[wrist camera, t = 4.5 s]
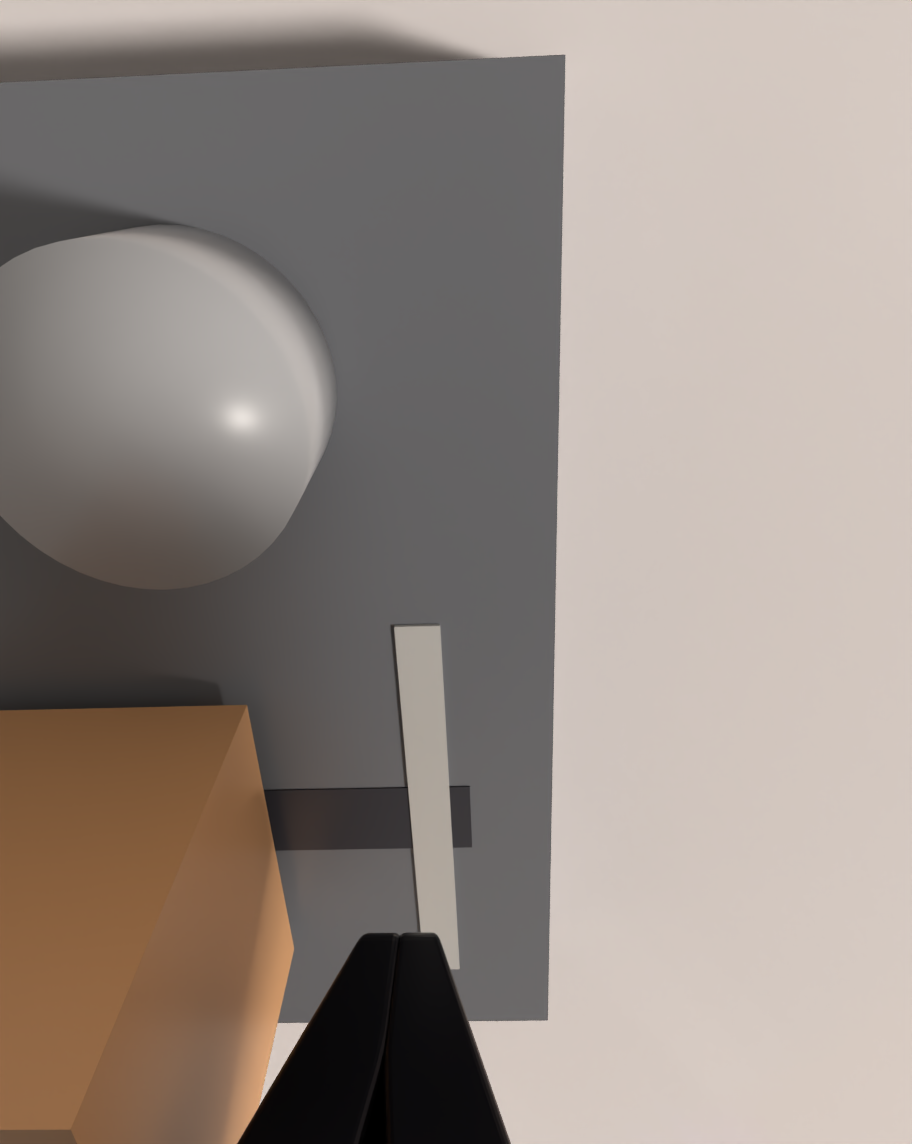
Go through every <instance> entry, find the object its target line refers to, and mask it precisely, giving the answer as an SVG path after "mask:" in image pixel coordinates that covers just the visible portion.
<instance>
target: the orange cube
mask: <svg viewBox="0 0 912 1144" xmlns="http://www.w3.org/2000/svg"><path fill="white" fill-rule="evenodd" d="M293 952H294V945H293V940H292V934H291V929H290V924H289V919H288V914H287V909H286V904H285V898H284V893H283V888H282V883H281V878H280V873H279V867H278V862H277V857H276V852H275V847H274V842H273V836H272V831H271V826H270V821H269V816H268V811H267V805H266V800H265V795H264V790H263V785H262V780H261V775H260V769H259V764H258V759H257V754H256V749H255V744H254V738H253V733H252V728H251V723H250V718H249V713H248V707H247V705H219V706H175V707H131V708H87V709H44V710H0V1144H237V1143H238V1141H239V1139H240V1138H241V1136H242V1134H243V1133H244V1131H245V1129H246V1128H247V1126H248V1124H249V1123H250V1121H251V1119H252V1118H253V1116H254V1114H255V1112H256V1111H257V1109H258V1107H259V1103H260V1098H261V1094H262V1090H263V1085H264V1081H265V1076H266V1072H267V1067H268V1063H269V1059H270V1054H271V1050H272V1045H273V1041H274V1036H275V1032H276V1027H277V1023H278V1019H279V1014H280V1010H281V1005H282V1001H283V996H284V992H285V988H286V983H287V979H288V974H289V970H290V965H291V961H292V957H293Z"/></svg>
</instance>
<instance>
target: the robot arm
mask: <svg viewBox="0 0 912 1144" xmlns="http://www.w3.org/2000/svg"><path fill="white" fill-rule="evenodd" d="M237 1144H511V1143H510V1140H509V1137H508V1134H507V1131H506V1128H505V1126H504V1123H503V1120H502V1117H501V1114H500V1111H499V1108H498V1105H497V1102H496V1100H495V1097H494V1094H493V1091H492V1088H491V1085H490V1082H489V1079H488V1076H487V1074H486V1071H485V1068H484V1065H483V1062H482V1059H481V1056H480V1053H479V1050H478V1048H477V1045H476V1042H475V1039H474V1036H473V1033H472V1030H471V1027H470V1024H469V1022H468V1019H467V1016H466V1013H465V1010H464V1007H463V1004H462V1001H461V998H460V996H459V993H458V990H457V987H456V984H455V981H454V978H453V975H452V972H451V970H450V967H449V964H448V961H447V958H446V955H445V952H444V949H443V946H442V944H441V941H440V938H439V937H438V935H437V934H435V933H433V932H407V933H403V934H401V935H399V934H398V933H366V934H364V935H362V936H361V937H360V939H359V940H358V941H357V943H356V944H355V946H354V948H353V949H352V951H351V953H350V954H349V956H348V958H347V960H346V961H345V963H344V965H343V966H342V968H341V970H340V971H339V973H338V975H337V976H336V978H335V980H334V981H333V983H332V985H331V986H330V988H329V990H328V991H327V993H326V995H325V997H324V998H323V1000H322V1002H321V1003H320V1005H319V1007H318V1008H317V1010H316V1012H315V1013H314V1015H313V1017H312V1018H311V1020H310V1022H309V1023H308V1025H307V1027H306V1028H305V1030H304V1032H303V1033H302V1035H301V1037H300V1039H299V1040H298V1042H297V1044H296V1045H295V1047H294V1049H293V1050H292V1052H291V1054H290V1055H289V1057H288V1059H287V1060H286V1062H285V1064H284V1065H283V1067H282V1069H281V1070H280V1072H279V1074H278V1076H277V1077H276V1079H275V1081H274V1082H273V1084H272V1086H271V1087H270V1089H269V1091H268V1092H267V1094H266V1096H265V1097H264V1099H263V1101H262V1102H261V1104H260V1106H259V1107H258V1109H257V1111H256V1112H255V1114H254V1116H253V1118H252V1119H251V1121H250V1123H249V1124H248V1126H247V1128H246V1129H245V1131H244V1133H243V1134H242V1136H241V1138H240V1139H239V1141H238V1143H237Z"/></svg>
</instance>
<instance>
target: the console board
mask: <svg viewBox="0 0 912 1144" xmlns="http://www.w3.org/2000/svg"><path fill="white" fill-rule="evenodd" d="M564 94H565V55H549V56H529V57H508V58H488V59H468V60H448V61H428V62H407V63H387V64H367V65H347V66H326V67H306V68H286V69H266V70H245V71H225V72H205V73H185V74H165V75H144V76H124V77H104V78H84V79H63V80H43V81H23V82H3V83H0V710H44V709H87V708H131V707H175V706H219V705H247V707H248V713H249V718H250V723H251V728H252V733H253V738H254V744H255V749H256V754H257V759H258V764H259V769H260V775H261V780H262V785H263V790H264V795H265V800H266V805H267V811H268V816H269V821H270V826H271V831H272V836H273V842H274V847H275V852H276V857H277V862H278V867H279V873H280V878H281V883H282V888H283V893H284V898H285V904H286V909H287V914H288V919H289V924H290V929H291V934H292V940H293V945H294V952H293V957H292V961H291V965H290V970H289V974H288V979H287V983H286V988H285V992H284V996H283V1001H282V1005H281V1010H280V1014H279V1019H278V1023H309V1022H310V1020H311V1018H312V1017H313V1015H314V1013H315V1012H316V1010H317V1008H318V1007H319V1005H320V1003H321V1002H322V1000H323V998H324V997H325V995H326V993H327V991H328V990H329V988H330V986H331V985H332V983H333V981H334V980H335V978H336V976H337V975H338V973H339V971H340V970H341V968H342V966H343V965H344V963H345V961H346V960H347V958H348V956H349V954H350V953H351V951H352V949H353V948H354V946H355V944H356V943H357V941H358V940H359V939H360V937H361V936H362V935H364V934H366V933H398V934H399V935H401V934H403V933H407V932H433V933H435V934H437V935H438V937H439V938H440V941H441V944H442V946H443V949H444V952H445V955H446V958H447V961H448V964H449V967H450V970H451V972H452V975H453V978H454V981H455V984H456V987H457V990H458V993H459V996H460V998H461V1001H462V1004H463V1007H464V1010H465V1013H466V1016H467V1019H468V1021H527V1020H548V974H549V919H550V864H551V809H552V754H553V699H554V644H555V589H556V534H557V479H558V424H559V369H560V314H561V259H562V204H563V149H564Z"/></svg>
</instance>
